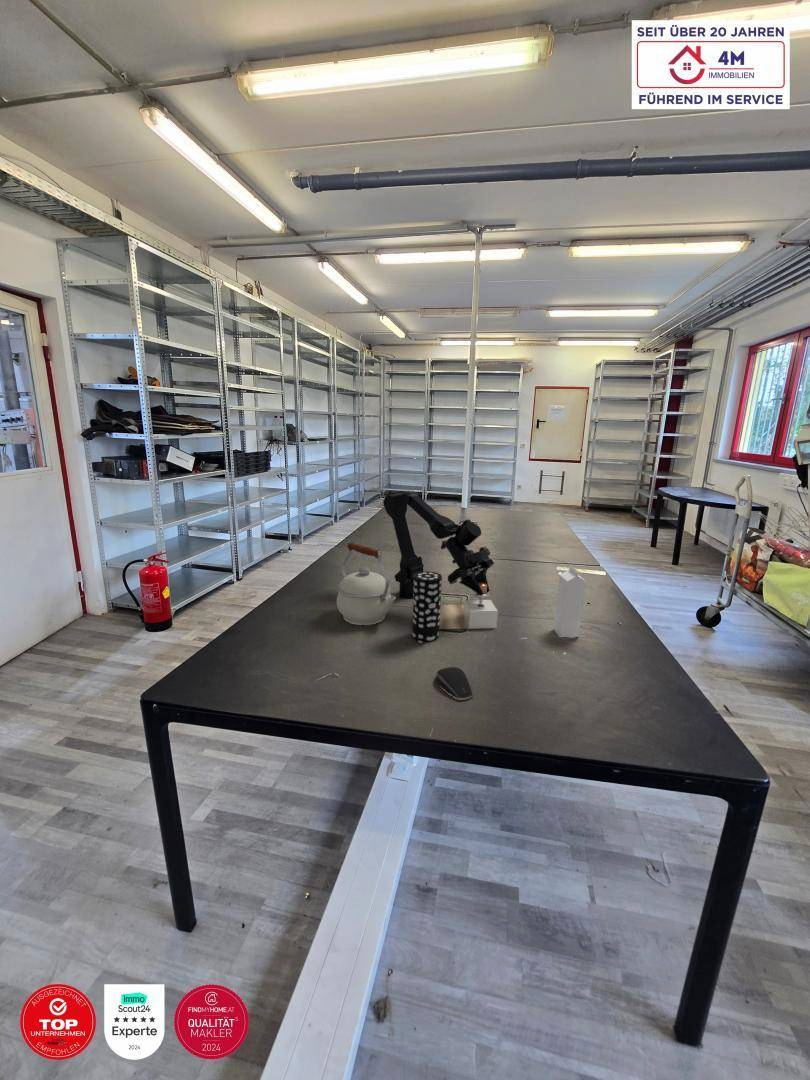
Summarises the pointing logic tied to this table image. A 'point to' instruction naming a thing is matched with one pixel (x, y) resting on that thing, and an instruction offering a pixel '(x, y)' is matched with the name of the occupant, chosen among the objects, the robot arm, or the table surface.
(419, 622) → the white-spotted black cylinder
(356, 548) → the kettle
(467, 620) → the white square block
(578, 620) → the milk
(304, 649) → the table surface
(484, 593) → the plunger
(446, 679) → the computer mouse
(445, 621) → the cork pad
